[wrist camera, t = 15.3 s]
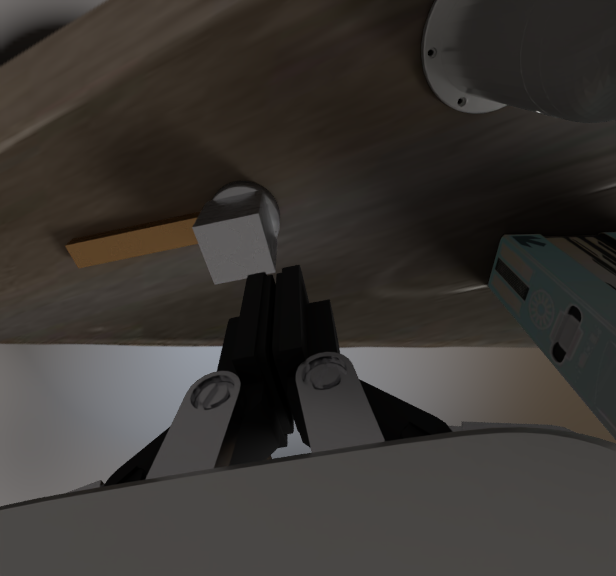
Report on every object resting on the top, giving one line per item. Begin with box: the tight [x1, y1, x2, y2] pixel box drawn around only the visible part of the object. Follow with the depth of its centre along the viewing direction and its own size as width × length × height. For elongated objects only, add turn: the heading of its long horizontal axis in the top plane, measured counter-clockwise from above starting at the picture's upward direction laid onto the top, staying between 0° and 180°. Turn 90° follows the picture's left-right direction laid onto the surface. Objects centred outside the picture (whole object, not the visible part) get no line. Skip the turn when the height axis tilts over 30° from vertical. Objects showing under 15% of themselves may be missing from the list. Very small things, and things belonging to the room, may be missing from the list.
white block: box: [192, 189, 277, 284], centre depth 39 cm, size 6×6×7 cm
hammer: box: [65, 181, 280, 268], centre depth 42 cm, size 24×8×6 cm, turn 101°
